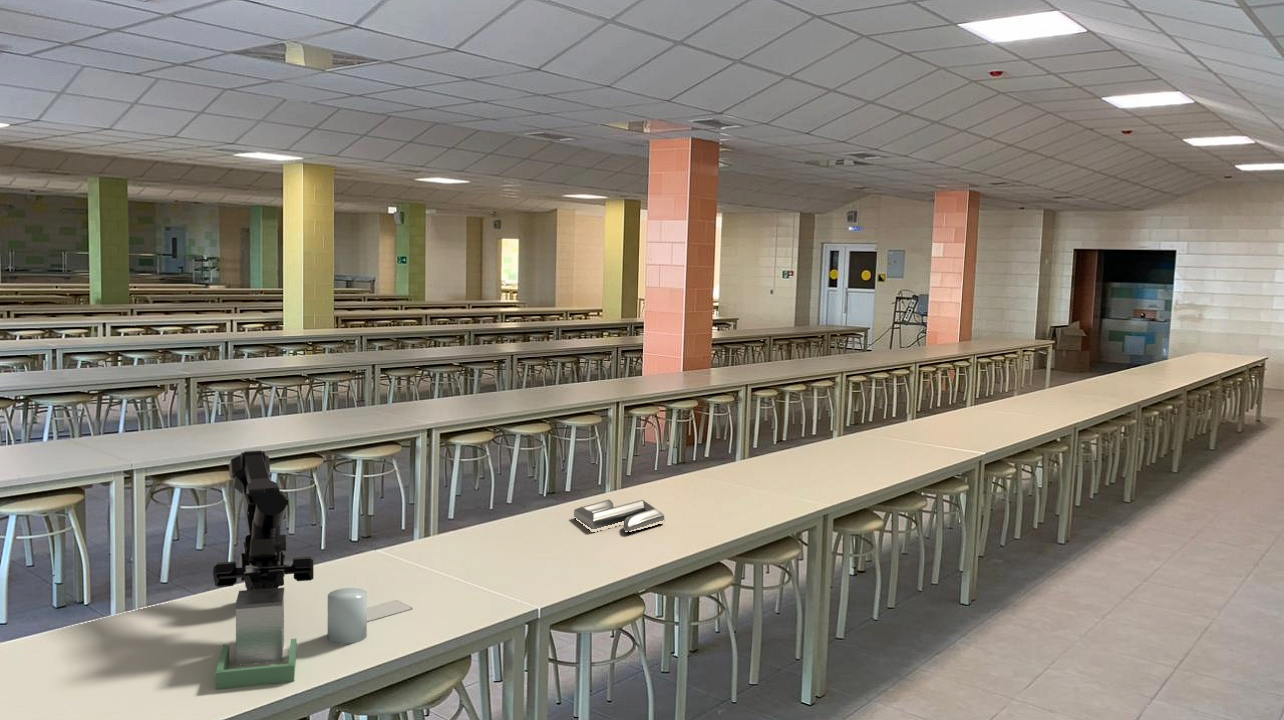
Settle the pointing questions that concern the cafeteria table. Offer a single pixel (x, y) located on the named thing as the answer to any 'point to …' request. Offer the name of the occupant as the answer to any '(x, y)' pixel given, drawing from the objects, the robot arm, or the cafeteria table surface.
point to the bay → (254, 671)
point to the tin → (259, 626)
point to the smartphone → (386, 610)
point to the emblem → (618, 514)
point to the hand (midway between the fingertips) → (262, 610)
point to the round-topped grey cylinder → (347, 615)
